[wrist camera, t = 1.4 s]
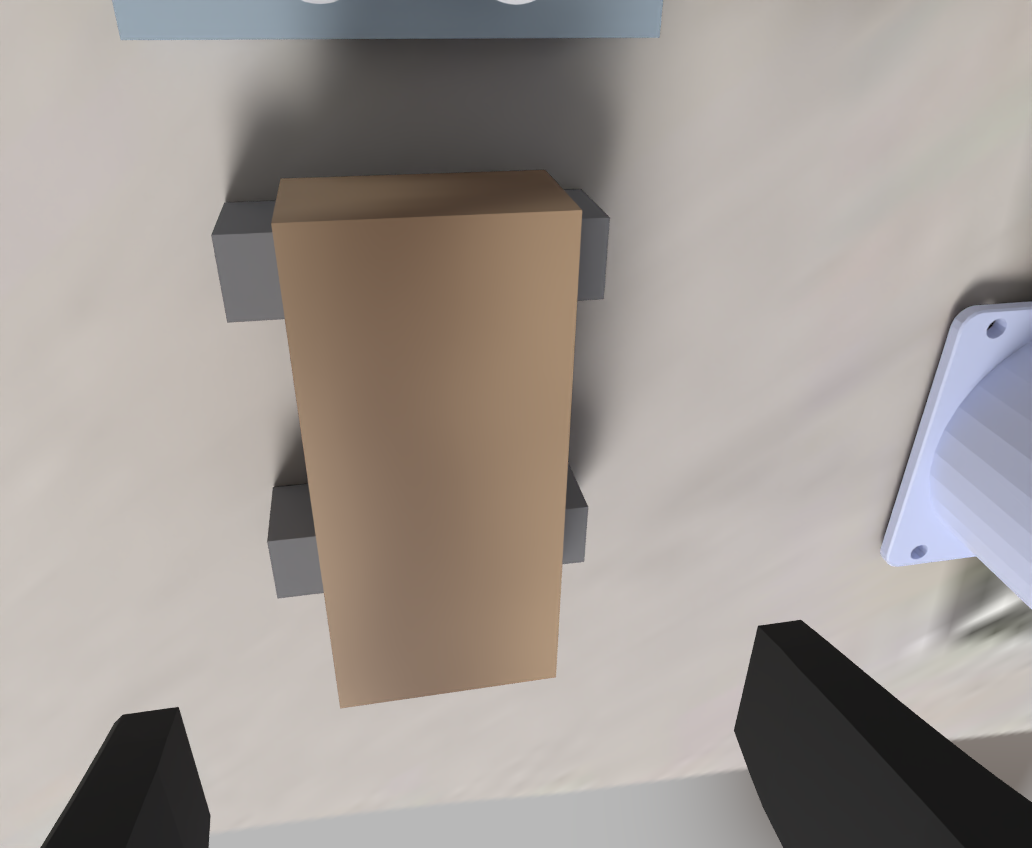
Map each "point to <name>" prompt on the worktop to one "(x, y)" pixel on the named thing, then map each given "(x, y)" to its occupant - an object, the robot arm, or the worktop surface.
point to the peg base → (386, 19)
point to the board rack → (258, 297)
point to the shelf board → (434, 418)
